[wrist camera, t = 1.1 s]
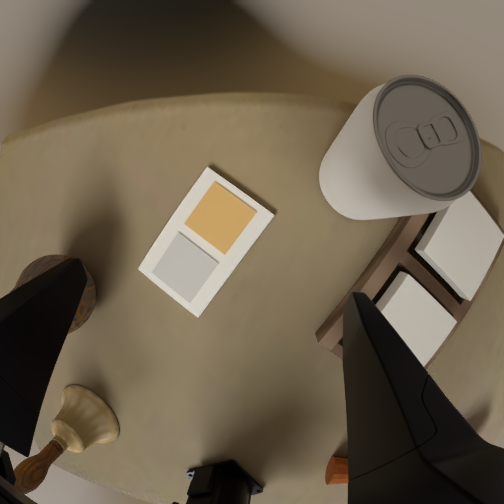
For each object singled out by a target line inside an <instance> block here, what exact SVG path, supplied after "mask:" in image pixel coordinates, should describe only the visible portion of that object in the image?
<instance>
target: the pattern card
mask: <svg viewBox="0 0 504 504" xmlns="http://www.w3.org/2000/svg"><path fill="white" fill-rule="evenodd" d="M274 216H275V215H273V214H272V213H271V212H269V211H268V210H267V209H265V208H264V207H263V206H261V205H260V204H259V203H257V202H256V201H255V200H253V199H252V198H250V197H249V196H248V195H246V194H245V193H243V192H242V191H241V190H239V189H238V188H237V187H235V186H234V185H232V184H231V183H230V182H228V181H227V180H225V179H224V178H222V177H221V176H220V175H218V174H217V173H215V172H214V171H213V170H211V169H210V168H208V167H207V168H206V169H205V171H204V172H203V173H202V175H201V176H200V177H199V179H198V180H197V182H196V183H195V184H194V186H193V187H192V188H191V190H190V191H189V193H188V194H187V195H186V197H185V198H184V200H183V201H182V203H181V204H180V205H179V207H178V208H177V210H176V211H175V213H174V214H173V216H172V217H171V219H170V220H169V221H168V223H167V224H166V226H165V227H164V229H163V230H162V232H161V233H160V235H159V237H158V238H157V240H156V241H155V243H154V244H153V246H152V247H151V249H150V251H149V252H148V254H147V255H146V257H145V258H144V260H143V262H142V263H141V265H140V267H139V268H138V269H139V270H140V271H141V272H142V273H143V274H145V275H146V276H147V277H148V278H149V279H150V280H152V281H153V282H154V283H155V284H156V285H158V286H159V287H160V288H161V289H162V290H164V291H165V292H166V293H167V294H169V295H170V296H171V297H172V298H174V299H175V300H176V301H177V302H179V303H180V304H181V305H182V306H184V307H185V308H186V309H188V310H189V311H190V312H191V313H193V314H194V315H195V316H197V317H199V316H200V315H201V314H202V312H203V311H204V310H205V308H206V307H207V305H208V304H209V303H210V301H211V300H212V299H213V297H214V296H215V295H216V293H217V292H218V291H219V289H220V288H221V287H222V285H223V284H224V283H225V281H226V280H227V279H228V277H229V276H230V275H231V273H232V272H233V271H234V269H235V268H236V266H237V265H238V264H239V262H240V261H241V260H242V258H243V257H244V256H245V254H246V253H247V252H248V250H249V249H250V248H251V246H252V245H253V244H254V242H255V241H256V240H257V238H258V237H259V236H260V234H261V233H262V232H263V230H264V229H265V228H266V226H267V225H268V224H269V222H270V221H271V220H272V218H273V217H274Z"/></svg>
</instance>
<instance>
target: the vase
mask: <svg viewBox="0 0 504 504" xmlns="http://www.w3.org/2000/svg"><path fill="white" fill-rule="evenodd" d="M68 258H70V257H69V256H65V255H47V256H43V257H41V258H38V259H36V260H35V261H33V262H32V263H30V264H29V265H28V266H27V267H26V268H25V269H24V270H23V272H22V273H21V275H20V277H19V279H18V281H17V283H16V285H15V287H14V289H13V290H15V289H17V288H18V287H20V286H21V285H23V284H25V283H26V282H28V281H30V280H31V279H33V278H35V277H36V276H38V275H40V274H42V273H43V272H45V271H47V270H48V269H50V268H52V267H54V266H56V265H57V264H59V263H61V262H63V261H64V260H66V259H68ZM84 268H85V271H86V273H87V276H88V281H87V285H86V287H85V290H84V292H83V295H82V298H81V301H80V303H79V306H78V309H77V312H76V315H75V318H74V320H73V322H72V325H71V327H70V329H69V332H68V334H69V333H71V332H73V331H75V330H77V329H78V328H80V327H81V326H82V325H83V324H84V323H85V322H86V321H87V320H88V318H89V317H90V315H91V313H92V311H93V309H94V306H95V301H96V289H95V284H94V281H93V278H92V276H91V274H90V273H89V271H88V270H87V268H86V267H85V266H84ZM13 290H12V291H13ZM12 291H11V292H12Z"/></svg>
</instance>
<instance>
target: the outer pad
mask: <svg viewBox="0 0 504 504" xmlns="http://www.w3.org/2000/svg"><path fill="white" fill-rule="evenodd" d="M503 238H504V235H503V233H502V232H501V230H500V229H499V228H498V226H497V225H496V223H495V222H494V221H493V219H492V218H491V217H490V215H489V214H488V213H487V211H486V210H485V209H484V208H483V206H482V205H481V204H480V203H479V201H478V200H477V199H476V198H475V197H474V195H473V194H472V193H471V192H470V191H468V192H467V193H466V194H465V195H464V196H462V197H460V198H458V199H457V200H456V201H455V202H453V203H452V204H451V205H450V206H448V207H446V208H444V209H442V210H439V211H437V213H436V215H435V217H434V218H433V220H432V222H431V224H430V225H429V227H428V229H427V230H426V232H425V233H424V235H423V237H422V238H421V240H420V242H419V243H418V245H417V246H416V248H415V249H414V250H415V251H416V252H417V253H418V254H419V255H420V256H421V257H423V258H424V259H425V260H426V261H427V262H428V263H429V264H430V265H431V266H432V267H433V268H434V269H435V270H436V272H437V273H438V274H439V275H440V276H441V277H442V278H443V279H444V280H445V281H446V282H447V283H448V284H449V285H450V286H451V287H452V288H453V289H454V290H455V292H456V293H457V294H458V295H459V296H460V297H461V298H464V299H466V300H469V301H471V299H472V298H473V296H474V294H475V293H476V291H477V289H478V288H479V286H480V284H481V282H482V280H483V279H484V277H485V275H486V273H487V271H488V269H489V267H490V265H491V263H492V261H493V259H494V257H495V255H496V253H497V251H498V249H499V247H500V245H501V242H502V240H503Z"/></svg>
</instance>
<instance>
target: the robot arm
mask: <svg viewBox="0 0 504 504" xmlns="http://www.w3.org/2000/svg"><path fill="white" fill-rule="evenodd" d="M87 281H88V276H87V273H86V271H85V268H84V265H83V263H82V260H81V259H79V258H75V257H70V258H68V259H66V260H64V261H63V262H61V263H59V264H57V265H56V266H54V267H52V268H50V269H48V270H47V271H45V272H43V273H42V274H40V275H38V276H36V277H35V278H33V279H31V280H30V281H28V282H26V283H25V284H23V285H21V286H20V287H18V288H17V289H15V290H13V291H12V292H10V293H9V294H7V295H5V296H4V297H2V298H1V299H0V504H37V503H35V502H34V501H33V500H31V499H30V498H28V497H27V496H26V495H24V494H23V493H22V492H20V491H19V490H18V489H16V488H15V487H14V485H15V481H16V477H15V474H14V471H13V467H12V464H11V461H10V457H9V454H8V452H6V451H5V450H4V447H5V445H6V446H8V447H10V448H12V449H13V450H15V451H17V452H19V453H20V454H22V455H24V456H26V457H28V456H29V454H30V449H31V445H32V440H33V436H34V432H35V428H36V424H37V421H38V417H39V413H40V412H39V411H40V409H41V406H42V403H43V399H44V396H45V393H46V390H47V387H48V384H49V381H50V378H51V375H52V373H53V370H54V367H55V364H56V362H57V359H58V356H59V354H60V351H61V349H62V346H63V344H64V341H65V339H66V336H67V334H68V332H69V329H70V327H71V325H72V322H73V320H74V318H75V315H76V312H77V309H78V306H79V303H80V301H81V298H82V295H83V292H84V290H85V287H86V285H87ZM343 372H344V384H345V398H346V414H347V435H348V504H504V448H501V447H498V446H495V445H492V444H490V443H488V442H486V441H485V440H483V439H482V438H481V437H480V436H479V435H478V434H477V433H476V432H475V430H474V429H473V428H472V427H471V426H470V424H469V423H468V422H467V421H466V420H465V419H464V417H463V416H462V415H461V414H460V413H459V411H458V410H457V409H456V408H455V407H454V406H453V404H452V403H451V402H450V401H449V399H448V398H447V397H446V396H445V395H444V393H443V392H442V391H441V389H440V388H439V387H438V385H437V384H436V383H435V381H434V380H433V379H432V377H431V376H430V375H429V374H428V372H427V371H426V369H425V368H424V367H423V365H422V364H421V363H420V361H419V360H418V359H417V357H416V356H415V355H414V353H413V352H412V351H411V349H410V348H409V347H408V346H407V344H406V343H405V342H404V340H403V339H402V338H401V337H400V335H399V334H398V333H397V331H396V330H395V329H394V328H393V326H392V325H391V324H390V323H389V321H388V320H387V319H386V318H385V317H384V315H383V314H382V313H381V312H380V310H379V309H378V308H377V307H376V306H375V304H374V303H373V302H372V301H371V299H370V298H369V297H368V296H367V295H366V294H365V293H364V292H357V291H353V292H351V293H350V295H349V298H348V300H347V303H346V306H345V308H344V312H343ZM232 464H233V465H232ZM186 475H187V476H188V477H189V478H190V479H191V480H192V481H191V483H190V486H189V489H188V492H187V495H188V499H187V502H186V504H250V500H251V495H254V494H258V493H262V492H263V487H261V486H260V485H259V484H258V483H257V482H256V481H255V480H254V479H253V478H252V477H251V476H250V475H249V474H248V473H246V472H245V471H244V470H243V469H242V468H241V467H240V466H239V465H238V464H237V463H236V462H235V461H233V460H229V461H225V462H222V463H218V464H214V465H210V466H206V467H202V468H198V469H194V470H189V471H187V473H186ZM172 504H179V503H177V502H173V503H172Z"/></svg>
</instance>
